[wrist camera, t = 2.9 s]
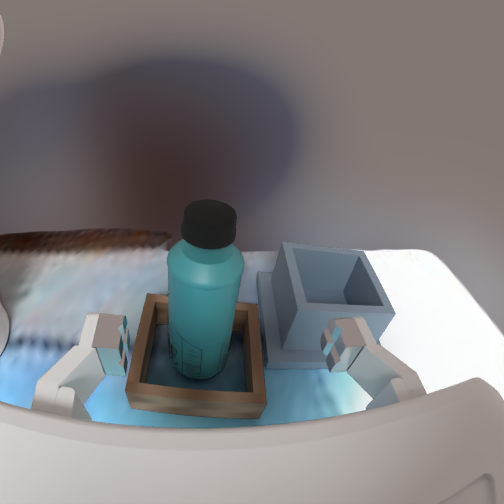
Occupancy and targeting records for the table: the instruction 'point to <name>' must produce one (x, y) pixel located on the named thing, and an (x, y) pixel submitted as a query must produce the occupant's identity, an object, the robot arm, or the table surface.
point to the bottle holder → (316, 302)
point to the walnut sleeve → (196, 399)
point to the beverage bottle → (203, 289)
